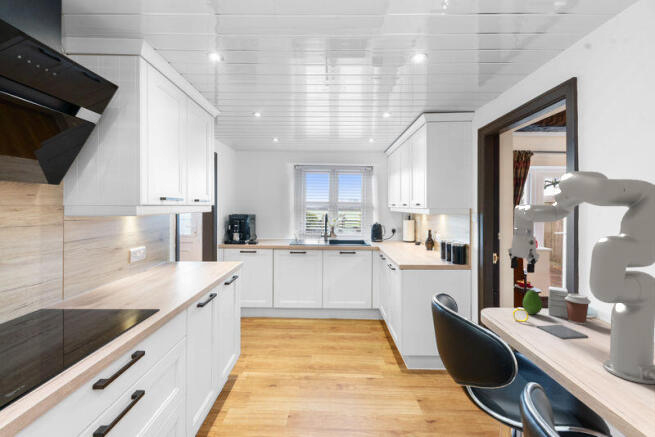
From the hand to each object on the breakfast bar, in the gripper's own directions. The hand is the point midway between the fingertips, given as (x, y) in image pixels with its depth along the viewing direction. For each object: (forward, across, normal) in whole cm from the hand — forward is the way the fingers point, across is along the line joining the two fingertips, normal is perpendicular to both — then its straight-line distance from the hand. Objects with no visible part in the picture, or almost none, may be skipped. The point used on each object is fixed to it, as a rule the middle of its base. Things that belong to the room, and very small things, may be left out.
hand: (522, 270), depth 140 cm
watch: (+23, 0, 0) cm, 23 cm away
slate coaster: (+23, -14, -7) cm, 28 cm away
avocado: (+24, +8, -13) cm, 28 cm away
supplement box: (+24, +6, -25) cm, 35 cm away
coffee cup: (+23, -4, -25) cm, 34 cm away
